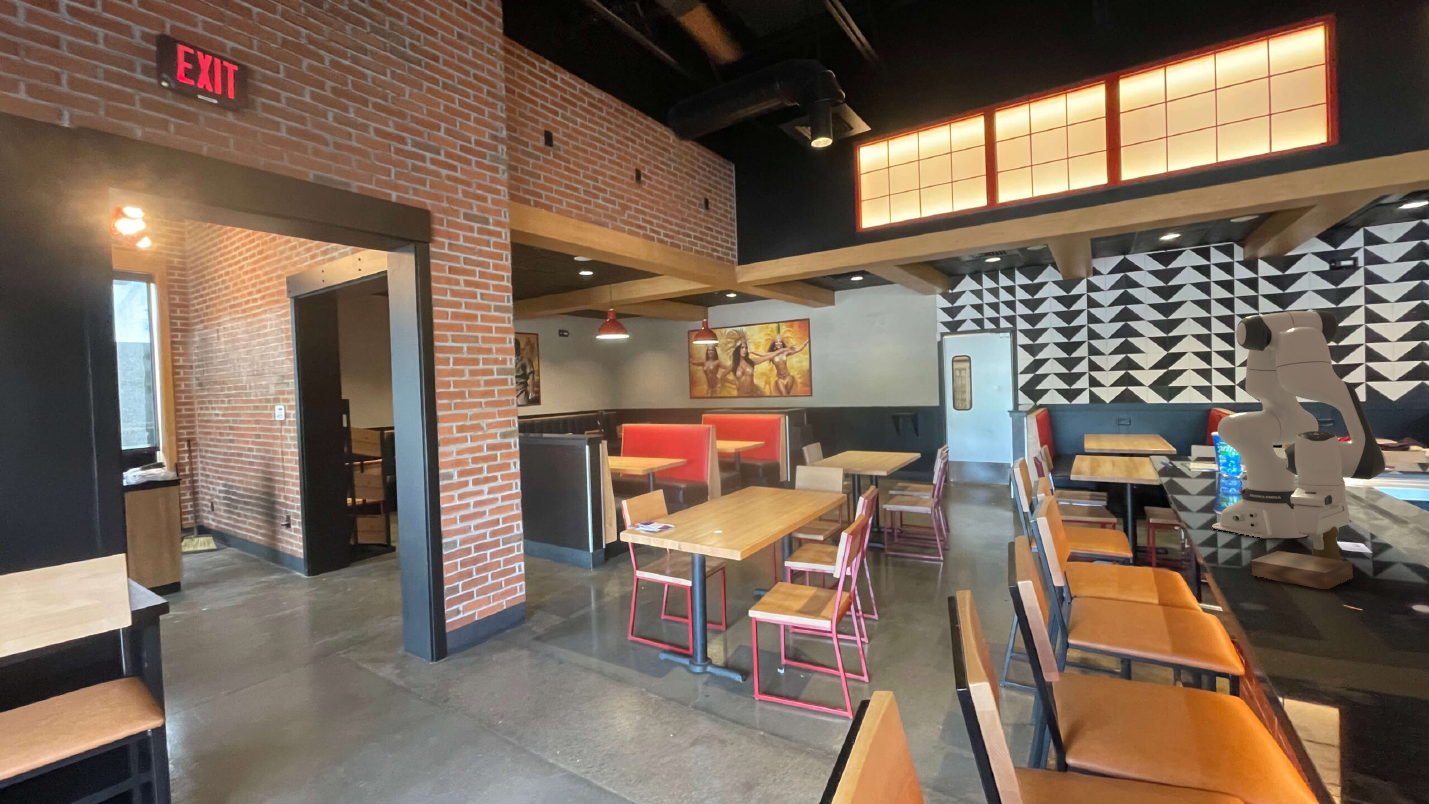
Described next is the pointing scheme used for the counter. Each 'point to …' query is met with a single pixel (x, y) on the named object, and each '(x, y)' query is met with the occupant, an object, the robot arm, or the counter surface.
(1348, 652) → the counter surface
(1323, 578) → the walnut riser block
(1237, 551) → the counter surface
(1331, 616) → the counter surface
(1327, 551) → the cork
